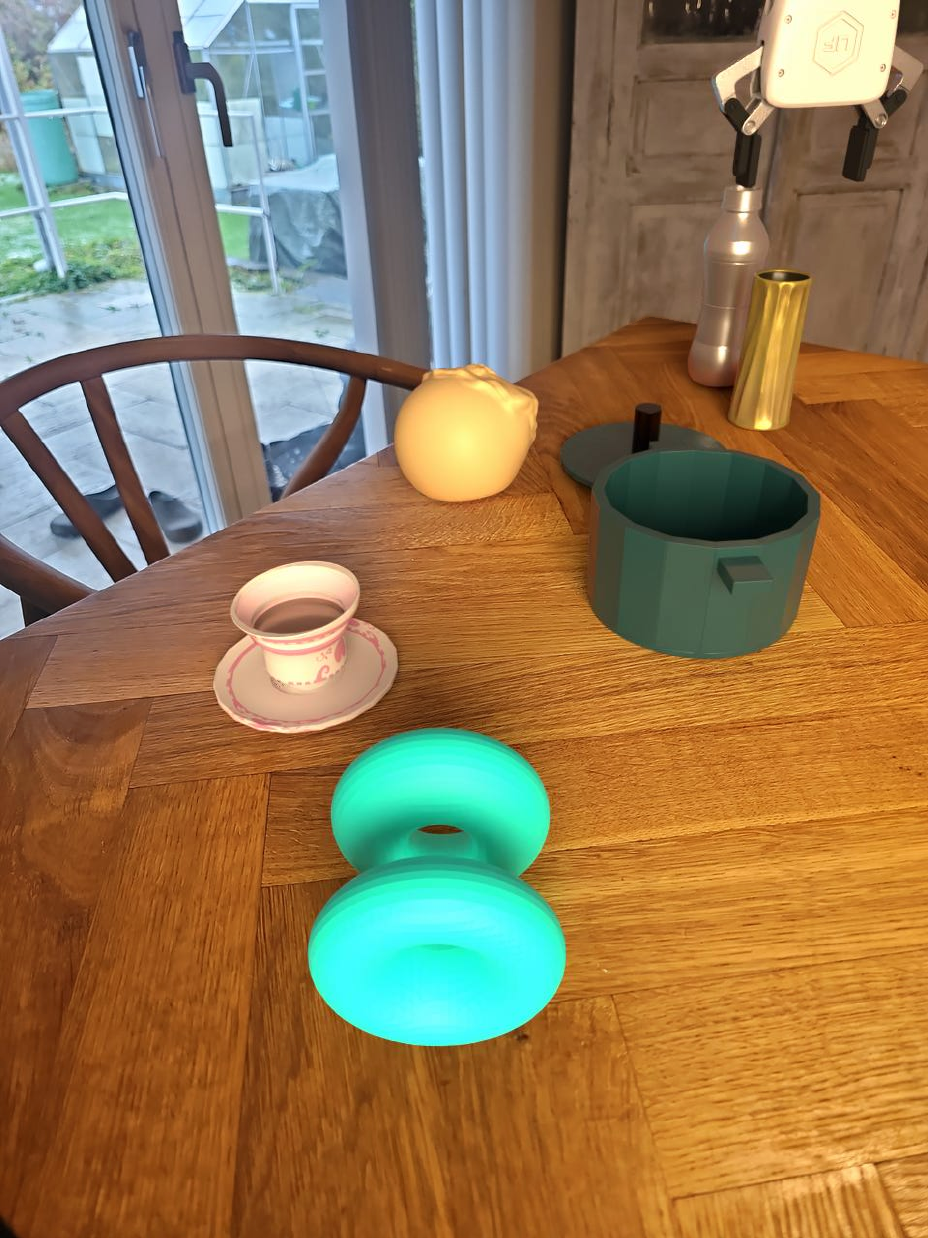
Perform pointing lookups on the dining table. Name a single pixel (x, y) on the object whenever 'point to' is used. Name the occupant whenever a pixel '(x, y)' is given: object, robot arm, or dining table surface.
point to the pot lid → (623, 442)
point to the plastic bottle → (728, 286)
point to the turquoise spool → (438, 893)
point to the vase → (770, 350)
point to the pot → (699, 549)
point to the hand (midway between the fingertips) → (798, 182)
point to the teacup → (303, 652)
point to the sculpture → (464, 433)
